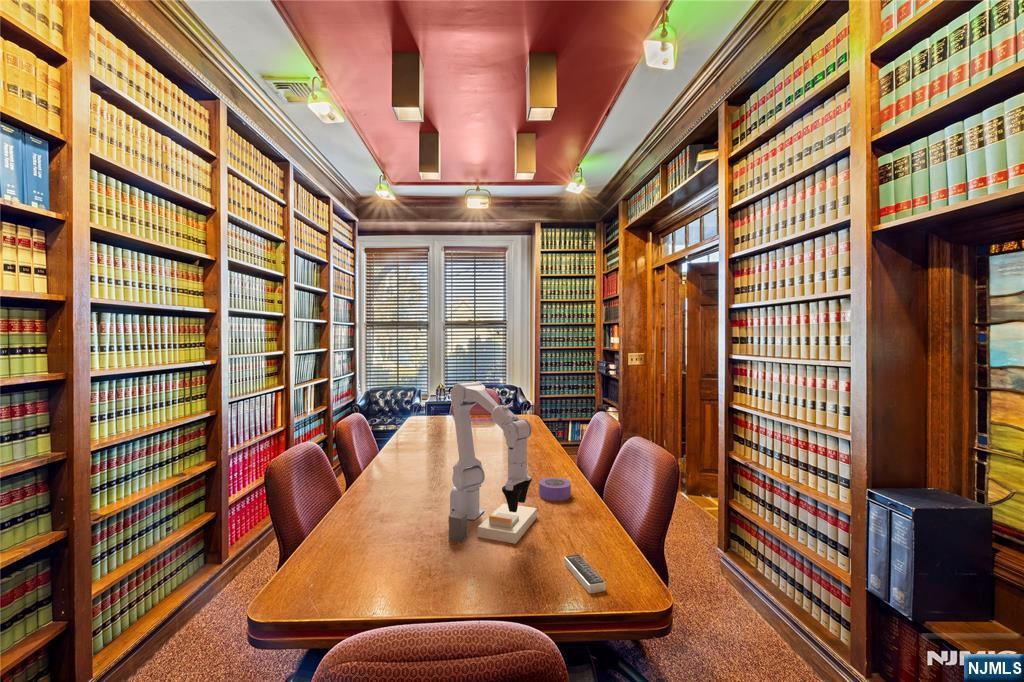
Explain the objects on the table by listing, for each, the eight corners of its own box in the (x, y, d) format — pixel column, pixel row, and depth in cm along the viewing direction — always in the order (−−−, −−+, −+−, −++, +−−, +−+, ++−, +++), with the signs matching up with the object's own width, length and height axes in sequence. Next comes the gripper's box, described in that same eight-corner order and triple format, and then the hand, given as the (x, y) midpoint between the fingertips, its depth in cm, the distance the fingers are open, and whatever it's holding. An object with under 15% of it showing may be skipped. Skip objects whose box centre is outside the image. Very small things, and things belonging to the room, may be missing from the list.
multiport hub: (589, 595, 104) (589, 585, 104) (563, 564, 118) (563, 556, 118) (606, 592, 106) (606, 582, 106) (579, 562, 119) (579, 553, 119)
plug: (448, 540, 131) (448, 516, 131) (455, 534, 135) (455, 511, 135) (461, 542, 130) (461, 518, 130) (467, 536, 133) (467, 513, 133)
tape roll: (577, 497, 167) (577, 483, 167) (552, 503, 160) (552, 489, 160) (556, 488, 176) (556, 475, 176) (532, 494, 170) (532, 480, 170)
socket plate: (477, 536, 133) (477, 526, 133) (503, 512, 152) (503, 503, 152) (515, 543, 129) (515, 533, 129) (536, 517, 148) (537, 508, 148)
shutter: (489, 524, 135) (489, 515, 135) (498, 515, 141) (498, 507, 141) (510, 528, 132) (510, 519, 132) (518, 519, 139) (518, 510, 139)
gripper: (522, 469, 125) (522, 518, 125) (537, 456, 138) (537, 500, 139) (498, 466, 127) (498, 514, 127) (515, 454, 141) (515, 497, 141)
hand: (517, 506), depth 133 cm, fingers open, 7 cm apart
